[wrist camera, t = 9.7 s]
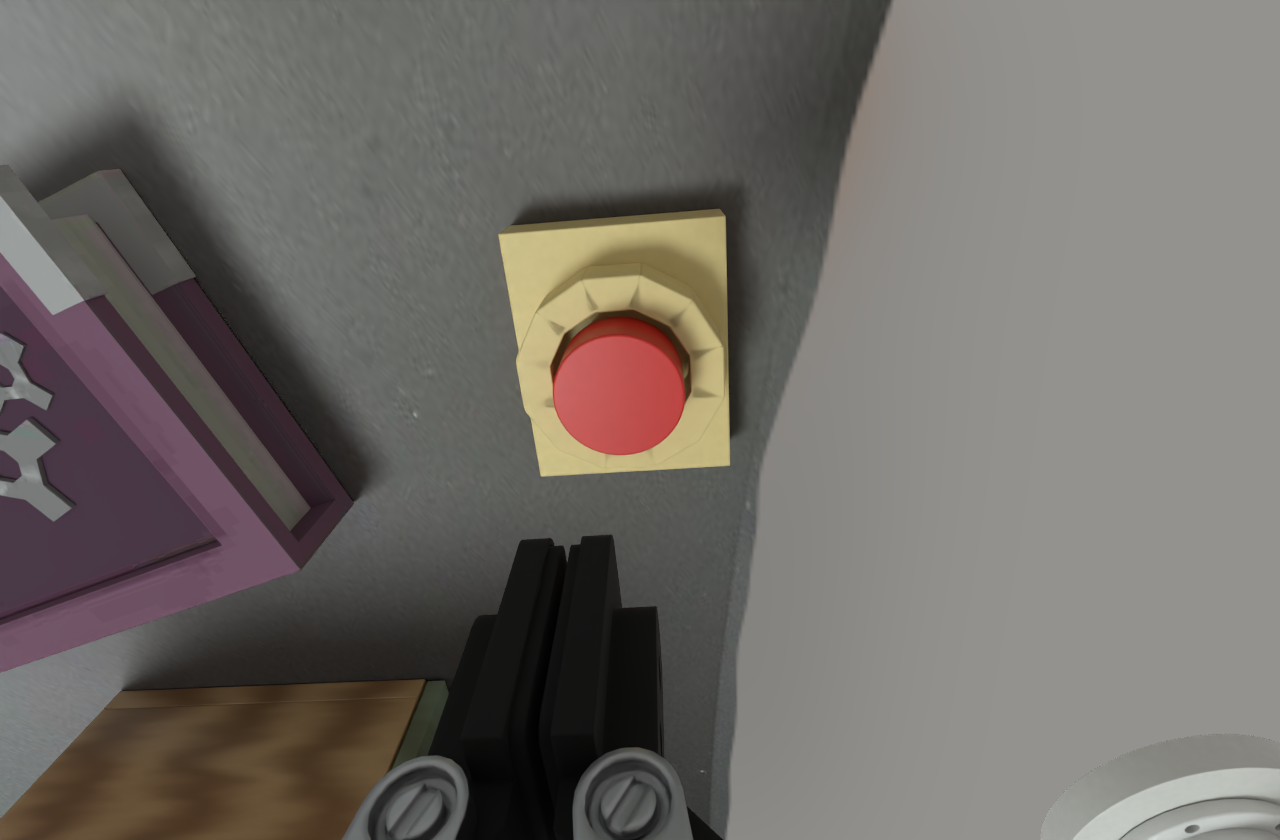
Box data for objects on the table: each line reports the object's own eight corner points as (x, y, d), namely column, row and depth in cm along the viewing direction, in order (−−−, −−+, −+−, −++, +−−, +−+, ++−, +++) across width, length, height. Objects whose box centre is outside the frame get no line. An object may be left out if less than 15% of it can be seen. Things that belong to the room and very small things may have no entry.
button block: (510, 225, 23) (483, 244, 20) (720, 208, 23) (732, 224, 19) (548, 453, 28) (532, 503, 24) (725, 443, 27) (736, 492, 24)
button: (552, 320, 21) (543, 339, 19) (679, 311, 21) (681, 329, 19) (569, 432, 23) (561, 460, 21) (685, 425, 23) (688, 452, 21)
